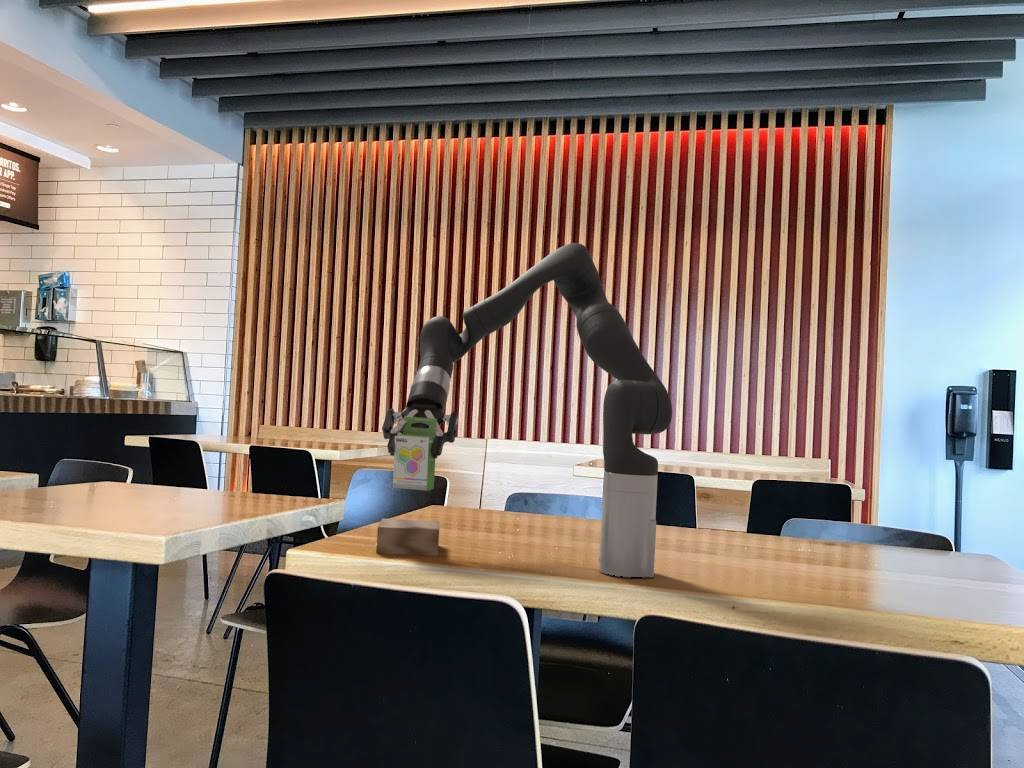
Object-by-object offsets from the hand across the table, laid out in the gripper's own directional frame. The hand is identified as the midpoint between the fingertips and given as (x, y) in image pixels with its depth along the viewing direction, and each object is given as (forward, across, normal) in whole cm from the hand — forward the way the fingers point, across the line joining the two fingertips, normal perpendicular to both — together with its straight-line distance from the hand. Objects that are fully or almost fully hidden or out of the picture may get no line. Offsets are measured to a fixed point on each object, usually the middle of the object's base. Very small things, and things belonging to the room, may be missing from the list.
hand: (412, 454), depth 150 cm
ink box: (+4, 0, -6) cm, 7 cm away
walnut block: (+12, 0, -14) cm, 18 cm away
